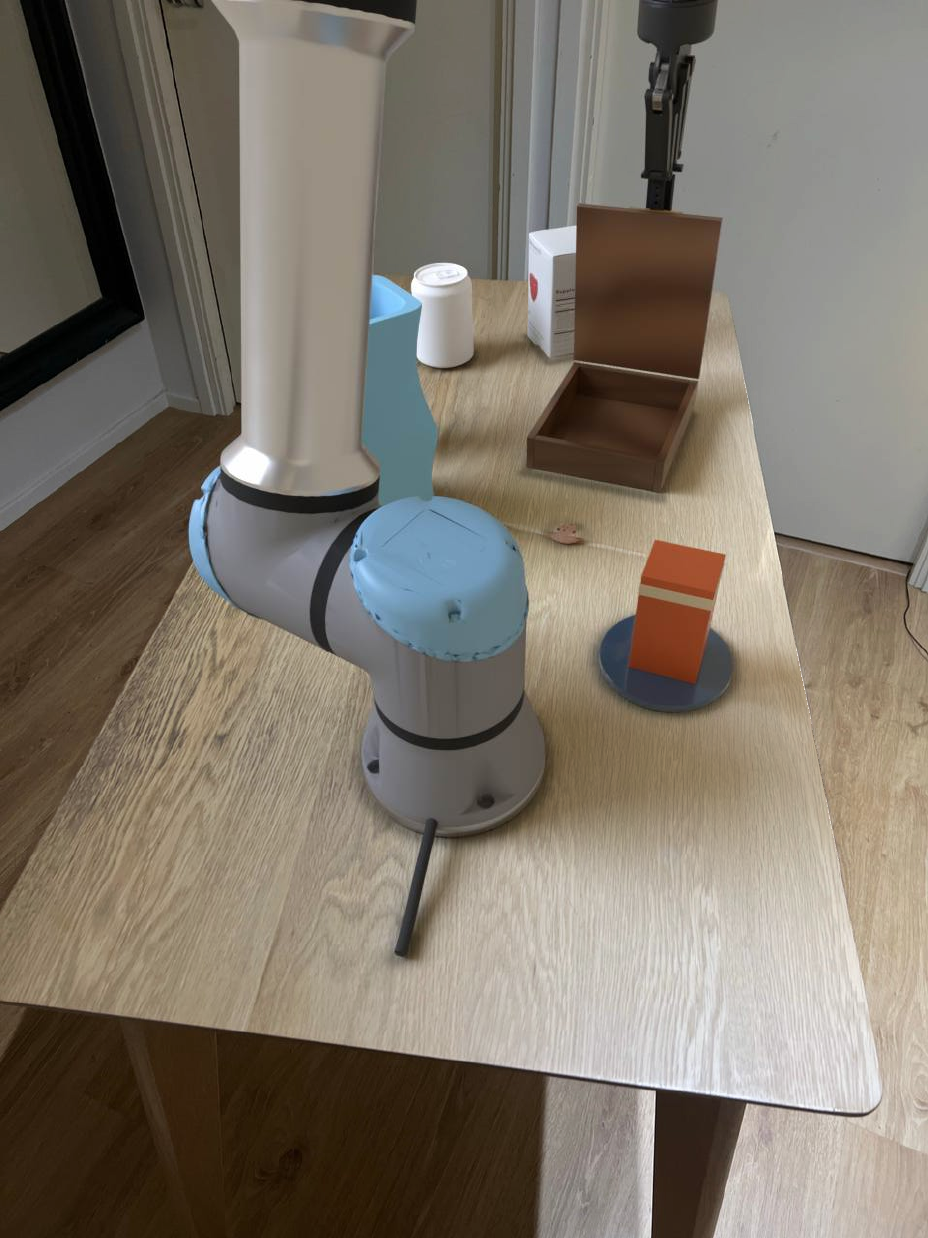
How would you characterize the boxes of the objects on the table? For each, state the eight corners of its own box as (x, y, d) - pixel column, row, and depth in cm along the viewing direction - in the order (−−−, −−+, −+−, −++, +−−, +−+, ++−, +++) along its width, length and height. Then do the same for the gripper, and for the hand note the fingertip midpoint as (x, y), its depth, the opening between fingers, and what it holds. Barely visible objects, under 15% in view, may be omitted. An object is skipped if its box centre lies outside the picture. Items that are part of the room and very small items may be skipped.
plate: (718, 727, 76) (720, 721, 75) (583, 691, 79) (583, 685, 79) (741, 634, 84) (743, 628, 83) (617, 605, 87) (618, 599, 87)
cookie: (552, 520, 97) (553, 513, 97) (589, 527, 96) (589, 519, 96) (543, 541, 95) (543, 534, 94) (580, 548, 94) (581, 541, 93)
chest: (659, 499, 100) (664, 462, 96) (526, 473, 104) (526, 437, 101) (692, 415, 112) (698, 380, 109) (572, 395, 117) (574, 361, 113)
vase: (324, 512, 100) (285, 297, 83) (400, 483, 104) (378, 270, 86) (364, 558, 94) (332, 336, 77) (444, 525, 97) (429, 306, 80)
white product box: (525, 336, 129) (526, 230, 119) (582, 325, 131) (588, 221, 121) (548, 364, 123) (551, 255, 113) (607, 352, 125) (616, 245, 114)
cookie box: (695, 684, 78) (715, 592, 71) (627, 667, 80) (640, 575, 73) (706, 646, 82) (726, 554, 74) (641, 630, 84) (654, 538, 76)
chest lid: (721, 220, 93) (731, 198, 96) (576, 206, 98) (590, 185, 101) (698, 379, 108) (707, 355, 111) (573, 360, 113) (585, 337, 116)
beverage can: (408, 351, 127) (400, 268, 119) (459, 339, 129) (455, 256, 121) (430, 376, 122) (424, 291, 113) (483, 362, 124) (481, 278, 116)
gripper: (705, 8, 80) (676, 262, 98) (730, -26, 88) (700, 214, 106) (624, 6, 83) (609, 255, 100) (656, -27, 91) (637, 208, 108)
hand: (656, 234), depth 103 cm, fingers closed
